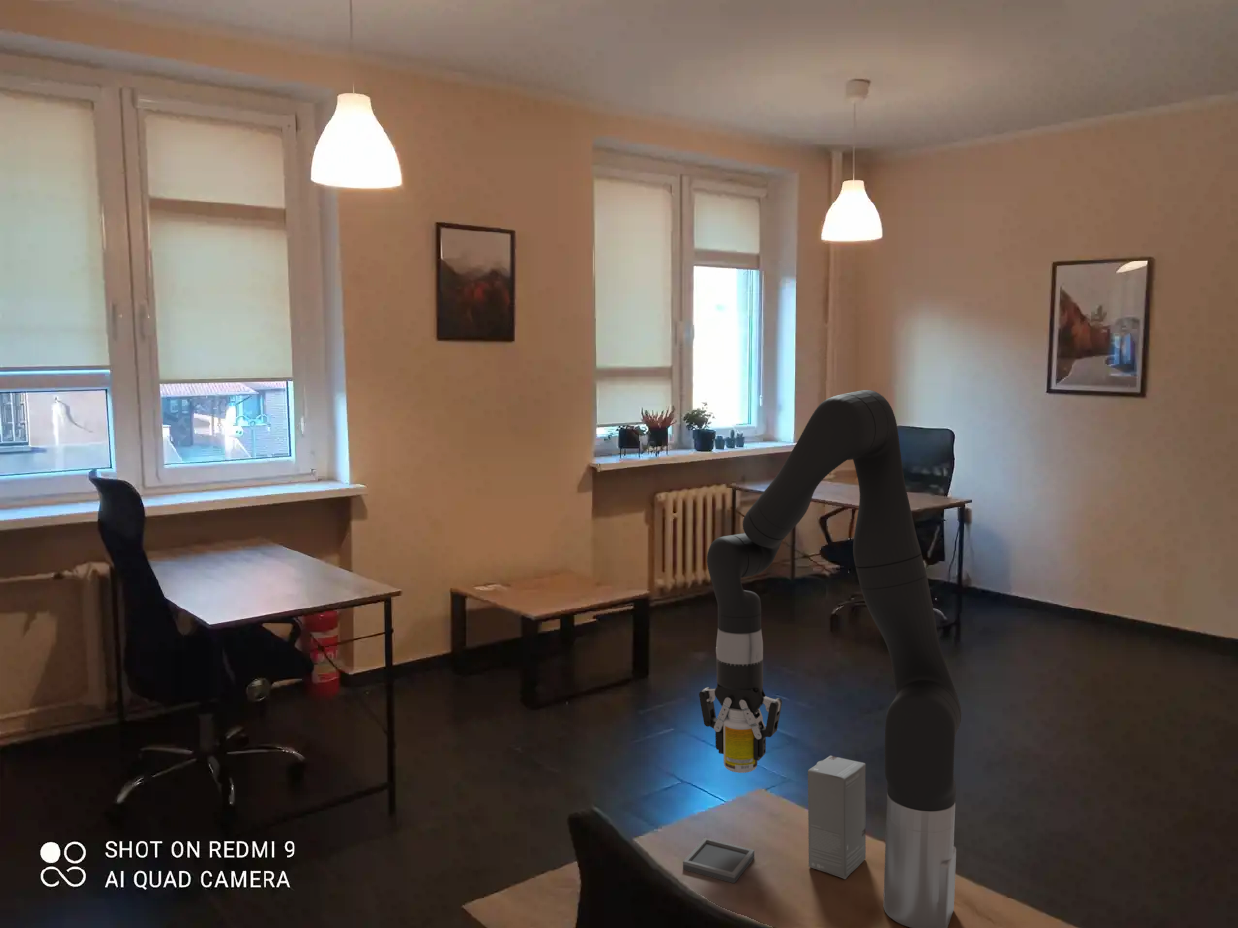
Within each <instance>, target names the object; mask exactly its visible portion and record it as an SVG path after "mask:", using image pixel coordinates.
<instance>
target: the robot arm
mask: <svg viewBox="0 0 1238 928" xmlns="http://www.w3.org/2000/svg"><path fill="white" fill-rule="evenodd" d="M897 424H898V423H897V420H896V415H895V413H894V411H893V408H892V406H891V404H890V403H889V401H888V400H887V399H886V398H885V397H884V396H883V395H881V394H880V392H878V391H875V390H870V389H863V390H858V391H857V390H856V391H852V392H847V393H841V394H837V395H834V396H832V397H828V398H827V399H825V400H824V401H822V402H821V403H820V404H819V405H818V406H817V407H816V409H815V410H814V411H813V413H812V415H811V416H810V418H809V420H808V422H807V423H806V425H805V427H804V429H803V430H802V432H801V434H800V436H799V438H798V439H797V441H796V444H795V445H794V447H793V448H792V451H791V452H790V454H789V455H788V457H787V458H786V461H785V462H784V464H783V465H782V467H781V468H780V470H779V472H778V473H777V474H776V476H775V477H774V479H772V481H771V482H770V484H769V485H768V486H767V487H766V488H765V490H764V491H763V492H762V493H761V495H760V496H759V497H758V498H757V500H755V502H754V503H753V504H752V506H751V507H750V508H749V509H748V511H747V512H746V514H745V515H744V517H743V520H742V529H743V533H736V534H731V535H723V536H720V537H717V538H716V539H714V540H713V541H712V542H711V544H710V546H709V548H708V551H707V555H706V565H707V566H706V567H707V570H708V573H709V578H710V581H711V584H712V585H711V586H712V588H713V592H714V596H715V598H716V599H715V600H716V603H717V635H716V644H715V645H716V647H715V654H716V684H717V685H716V687H715V688H711V687H709V686H706V687H705V688H703V689H702V690H700V691H699V693H698V697H699V701H700V710H701V714H702V719H703V720H702V721H703V724H704V726H705V727H707V728H708V727H710V728H711V729H713V730H714V732H715V734H714V735H715V736H714V737H715V748H716V750H718V754H719V755H720V754H722V755H724V752H723V722H724V720H725V719H726V718H727V717H728V712H729V709H730V708H733V709H739V710H743V712H744V715H745V717H746V720H747V722H748V725H749V726H751V727H752V731H753V733H754V736H755V738H754V760H757V762H758V761H760V760H761V759H762V758H763V757H764V756H765V754H766V753H767V749H766V748H767V747H766V745H767V740H766V738H771V737H773V736H774V735H775V733H777V731H778V727H779V722H780V716H781V711H782V705H783V700H782V698H780V697H776V698H771V697H769V696H766V693H765V692H764V689H763V688H764V687H763V686H764V641H763V634H762V633H763V632H762V603H761V601H762V600H761V598H760V596H759V594H757V593H756V592H754V591H751V590H747V589H746V590H745V589H744V587H743V584H742V579H743V578H748V577H752V576H757V575H759V574H762V573H763V572H764V571H766V570H767V569H768V568H769V567H770V566H771V565H772V563H773V562H774V560H775V558H776V556H777V553H778V552H779V549H780V547H781V544H782V542H783V540H784V539H785V538H786V537H787V536H788V535H789V534H790V533H791V531H792V530H793V529H795V527H796V526H797V525H798V523H799V522H800V521H801V520H802V519H803V517H804V516H806V515H805V514H806V513H807V511H808V509H809V507H810V505H811V502H812V499H813V495H814V493H815V491H816V489H817V488H818V486H819V485H820V483H822V481H823V480H824V479H825V478H826V477H827V476H828V475H829V474H831V473H832V472H833V471H834V470H835V469H838V467H839V466H841V465H842V464H844V463H845V462H846V461H851V460H852V461H853V465H854V469H855V472H856V473H855V474H856V477H857V482H858V490H859V503H858V509H857V516H856V521H855V522H856V523H855V527H854V529H855V530H854V535H853V544H852V549H853V550H852V554H853V560H854V565H855V570H856V575H857V579H858V583H859V587H860V591H861V593H862V597H863V601H864V603H865V606H866V607H867V609H868V612H869V614H870V615H871V618H872V620H873V622H874V624H875V625H876V627H877V629H878V630H879V633H880V635H881V636H882V638H883V640H884V642H885V645H886V647H887V650H888V653H889V657H890V661H891V668H892V674H893V679H894V686H895V688H894V689H895V698H894V699H893V701H892V702H891V704H890V705H889V707H888V709H887V712H886V715H885V716H886V717H885V725H884V776H885V779H886V784H887V785H886V817H885V820H886V821H885V844H884V845H885V848H884V849H885V850H884V872H883V873H884V875H883V876H884V877H883V878H884V880H883V881H884V882H883V911H884V912H885V913H886V915H887V916H888V917H889V919H892V920H893V921H894V922H896V923H898V924H899V925H902V926H905V927H909V928H949V925H950V922H951V918H952V916H953V913H954V910H955V893H956V892H955V891H956V889H955V886H956V869H957V868H956V867H957V866H956V863H957V862H956V860H957V848H956V846H955V844H954V843H955V817H956V799H957V798H956V795H957V784H956V782H955V777H954V769H955V767H954V766H955V742H956V741H955V740H956V734H957V733H958V731H959V728H960V726H961V722H962V707H961V703H960V700H959V699H960V698H959V697H958V693H957V690H956V688H955V685H954V682H953V680H952V676H951V675H950V672H949V669H948V666H947V663H946V660H945V658H944V654H943V651H942V648H941V644H940V640H939V636H938V629H937V623H936V616H935V611H934V606H933V605H934V604H933V601H932V596H931V590H930V585H929V579H928V575H927V571H926V567H925V562H924V558H923V555H922V550H921V547H920V543H919V540H918V537H917V532H916V528H915V522H914V519H913V513H912V510H911V505H910V501H909V500H910V499H909V497H908V493H907V486H906V482H905V477H904V469H903V462H902V461H903V460H902V452H901V446H900V445H901V444H900V437H899V430H898V425H897ZM715 700H717V701H718V703H719V704H720V706H721V708H720V710H719V713H718V715H716V709H715V703H714V701H715ZM763 705H764V706H765V710H766V712H768V714H767V720H766V724H765V723H764V719H763V718H764V717H763V714H762V712H761V709H760V708H761V706H763Z"/></svg>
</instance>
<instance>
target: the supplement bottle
mask: <svg viewBox="0 0 1238 928" xmlns="http://www.w3.org/2000/svg"><path fill="white" fill-rule="evenodd" d="M754 738H755V736H754V733H753V731H752V727H751V726H749V725H748V722H747V720H746V717H745V715H744V712H743V710H739V709H733V708H730V709H729V712H728V717H727V718H726V719H725V720H724V722H723V752H724V754H723V766H724V768H725V769H727V771H729V772H733V773H738V774H739V773H740V774H745V773H749V772H753V771H754V770H756V769H757V767H758V761H757V760H754Z"/></svg>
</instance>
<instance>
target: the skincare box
mask: <svg viewBox="0 0 1238 928" xmlns="http://www.w3.org/2000/svg"><path fill="white" fill-rule="evenodd" d="M866 766H867V764H866V763H865V762H862V761H857V760H851V759H848V758H843V757H839V756H838V757H837V756H834V755H829V756H828V757H826V758H825V759H822V760H819V761H817V762H816V764H815V765H814V766H812V767H811V768H809V769H808V770H807V804H808V805H807V817H808V818H807V819H808V821H807V823H808V825H807V826H808V827H807V828H808V833H807V834H808V837H807V839H808V867H809V868H811V869H814V870H817V871H820V872H824V873H826V874H830V875H833V876H836V877H839V878H841V879H843V880H847V878H848V877H849V876H851V873H853V872H854V871H855V870H857V868H858V867H859V866H860V865H861V864H862V863H864V861H865V860H866V856H867V855H866V848H867V847H866V843H867V842H866V841H867V839H866V838H867V837H866Z"/></svg>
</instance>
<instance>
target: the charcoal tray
mask: <svg viewBox="0 0 1238 928" xmlns="http://www.w3.org/2000/svg"><path fill="white" fill-rule="evenodd" d="M754 859H755V849H751V848H747V847H744V846H741V845H736V844H733V843H729V842H724V841H720V840H716V839H713V838H709V837H704V838H703V839H702V840H701V841H700V842H699V843H698V844H697V845H696V847H695V848H694V849H693V850H692V851H691V852H690V853H689V854H688V855H687V856H686V857H685V858H684V859H683V861H682V870H683V871H689V872H692V873H695V874H699V875H703V876H706V877H709V878H714V879H717V880H720V881H721V880H722V881H724V882H728V883H732V884H735V883H737V881H738V879H739V878H740V877H741V875H742V874H743V873H744V872H745V870H746V869H747V868H748V867H749V865H750V864H751V863H752V861H754Z"/></svg>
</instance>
